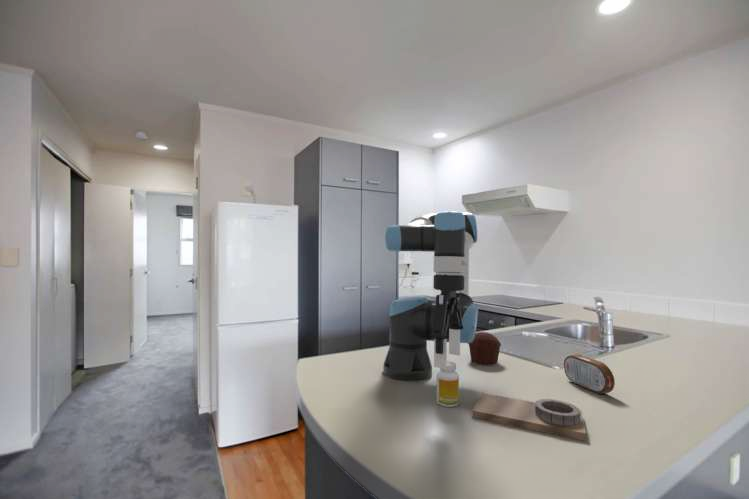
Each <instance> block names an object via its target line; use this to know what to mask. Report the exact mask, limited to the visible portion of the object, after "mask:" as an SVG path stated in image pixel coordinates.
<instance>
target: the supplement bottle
mask: <svg viewBox="0 0 749 499" xmlns="http://www.w3.org/2000/svg"><path fill="white" fill-rule="evenodd" d="M456 369H457V364H456V362H454V361H447V360H446V369H444V368H439V370H438V371H437V372H436V385H435V387H436V392H435V393H436V396H435V400H436V404H438V405H439V406H442V407H445V408H455V407H457V406H458V405H459V399H460V397H459V396H460V395H459V392H460V390H459V389H460V388H459V386H460V383H459V382H460V380H459V379H460V375H459V373H458V372H457V371H456Z"/></svg>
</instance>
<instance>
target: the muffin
mask: <svg viewBox="0 0 749 499" xmlns="http://www.w3.org/2000/svg"><path fill="white" fill-rule="evenodd" d="M467 344H468V347H469V354H470V360H471V361H470V362H472V363H473V362H474V364H476V365H480V364H481V366H494V365H497V364H498V361H499V355H500V349H501V347H502V343H501V341H499V339H498V337H496V336H495V335H494V334H492V333H489V332H487V331H480V332H479V331H478V332H476V333H475V338H474V340H473V341H472V342H471V343H467Z"/></svg>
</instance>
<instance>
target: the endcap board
mask: <svg viewBox="0 0 749 499" xmlns="http://www.w3.org/2000/svg"><path fill="white" fill-rule="evenodd" d="M471 415H472V416H471V418H474V419H479V420H484V421H490V422H494V423H498V424H504V425H509V426H513V427H518V428H522V429H527V430H531V431H535V432H541V433H545V434H550V435H555V436H561V437H563V438H564V437H565V438H569V439H572V440H573V439H575V440H580V441H583V440H584V442H587V431H586V426H585V422H584V416H583V412H582V410H580V408H578V407H577V406H576V405H574V404H572V403H569V402H566V401H563V400H557V399H552V398H545V399H544V398H542V399H538V400H536V401H529V400H523V399H520V398H512V397H507V396H502V395H496V394H495V395H494V394H491V393H484V392H481V393H480V395H479V397H478V399H477V401H476V402H475V405H474V406H473V409H472V414H471Z"/></svg>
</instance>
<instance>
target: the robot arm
mask: <svg viewBox="0 0 749 499" xmlns="http://www.w3.org/2000/svg"><path fill="white" fill-rule="evenodd" d="M384 235H385V236H384V238H385V240H384V241H385V247H386V249H387V250H388V252H389V251H391V252H397V253H400V252H426V253H429V252H431V253H432V252H433V272H434V273H435V274H434V275H433V285H432V286H433V290H437V291H440V293H439V294H436V295H435V301H429V300H428V298H427V297H426V296H413V297H412V296H411V297H403V298H399V299H397V298H396V299H395V300H392V302H391V303H390V307H389V308H390V309H389V315H388V316H389V337H388V338H389V339H388V340H389V341H388V344H389V346H388V350H387V353H386V356H385V358H384V362H383V365H382V366H383V367H382V368H383V371H382V372H383V374H384V375H385V376H387V377H389V378H392V379H395V380H399V381H400V380H401V381H421V380H426V379H429V378H431V377H432V375H433V368H439V369H440V368H444V369H446V361H447V357H448V356H447V355H454V356H460V354H461V344H468V343H471V342H472V341H473V340H474V338H475V333H477V324H478V318H479V317H478V315H479V305H478V304H475V303H474V299H473V297H471V296H470V295H469V281H470V278H469V274H470V273H469V272H470V270H469V268H470V266H469V265H470V261H469V260H470V250H471V249H472V247H473V245H474V244H476V243H477V242H478V226H477V219H476V216H475V214H474V213H473V212H464V211H462V212H461V211H453V210H452V211H451V210H450V211H446V210H445V211H440V212H435V213H434V212H432V213H426V214H423V215H420V216H418V217H417V216H416V217H415V218H413V219H412V220H410V222H409V223H407V224H402V225H401V224H400V225H399V224H396V225H395V224H394V225H388V226H387V227H386V230H385V234H384ZM427 341H430V342H431V341H432V342H434V344H433V365H432V361H431V358H430V355H429V352H428V344H427V343H428V342H427ZM447 344H448V346H447ZM447 347H448V348H447ZM447 350H448V354H447Z"/></svg>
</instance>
